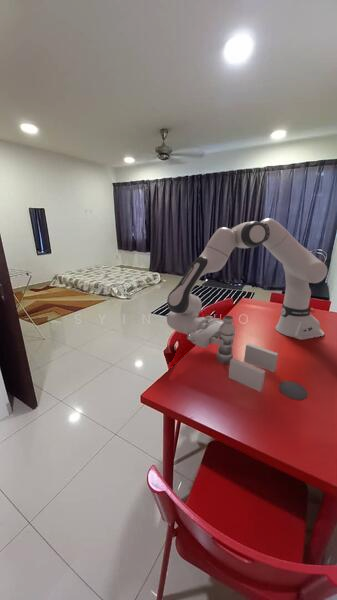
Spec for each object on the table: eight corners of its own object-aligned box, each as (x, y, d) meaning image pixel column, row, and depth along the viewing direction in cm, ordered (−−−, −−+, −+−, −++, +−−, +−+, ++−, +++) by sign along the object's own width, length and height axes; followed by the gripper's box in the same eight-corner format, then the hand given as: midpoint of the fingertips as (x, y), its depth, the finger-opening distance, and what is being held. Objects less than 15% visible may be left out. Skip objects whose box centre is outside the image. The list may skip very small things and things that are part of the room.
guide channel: (228, 377, 91) (230, 360, 88) (246, 358, 102) (248, 343, 99) (260, 391, 83) (263, 373, 81) (275, 369, 95) (278, 353, 92)
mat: (297, 381, 89) (297, 380, 89) (313, 399, 80) (313, 398, 80) (274, 382, 88) (274, 381, 88) (287, 400, 80) (287, 400, 79)
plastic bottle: (232, 358, 102) (237, 315, 95) (231, 367, 96) (236, 322, 89) (217, 355, 104) (221, 313, 97) (214, 364, 98) (218, 319, 91)
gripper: (184, 330, 95) (215, 342, 87) (211, 314, 110) (240, 323, 102) (184, 344, 98) (214, 357, 89) (210, 326, 112) (238, 336, 104)
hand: (228, 338), depth 96 cm, fingers closed on plastic bottle, 6 cm apart
